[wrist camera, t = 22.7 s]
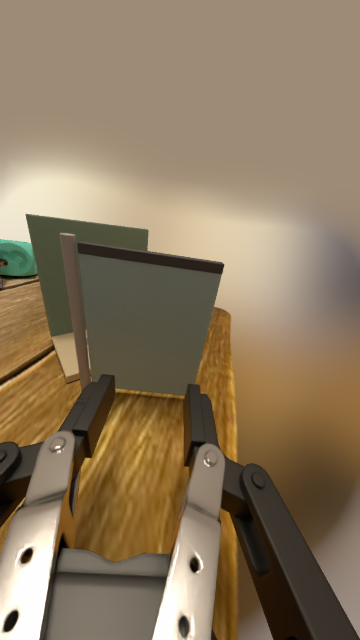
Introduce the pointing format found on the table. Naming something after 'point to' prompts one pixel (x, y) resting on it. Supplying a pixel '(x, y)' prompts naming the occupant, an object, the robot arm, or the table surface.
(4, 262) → the action figure
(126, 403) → the table surface
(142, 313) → the shower door
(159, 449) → the table surface
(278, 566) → the robot arm
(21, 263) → the decorative dice
